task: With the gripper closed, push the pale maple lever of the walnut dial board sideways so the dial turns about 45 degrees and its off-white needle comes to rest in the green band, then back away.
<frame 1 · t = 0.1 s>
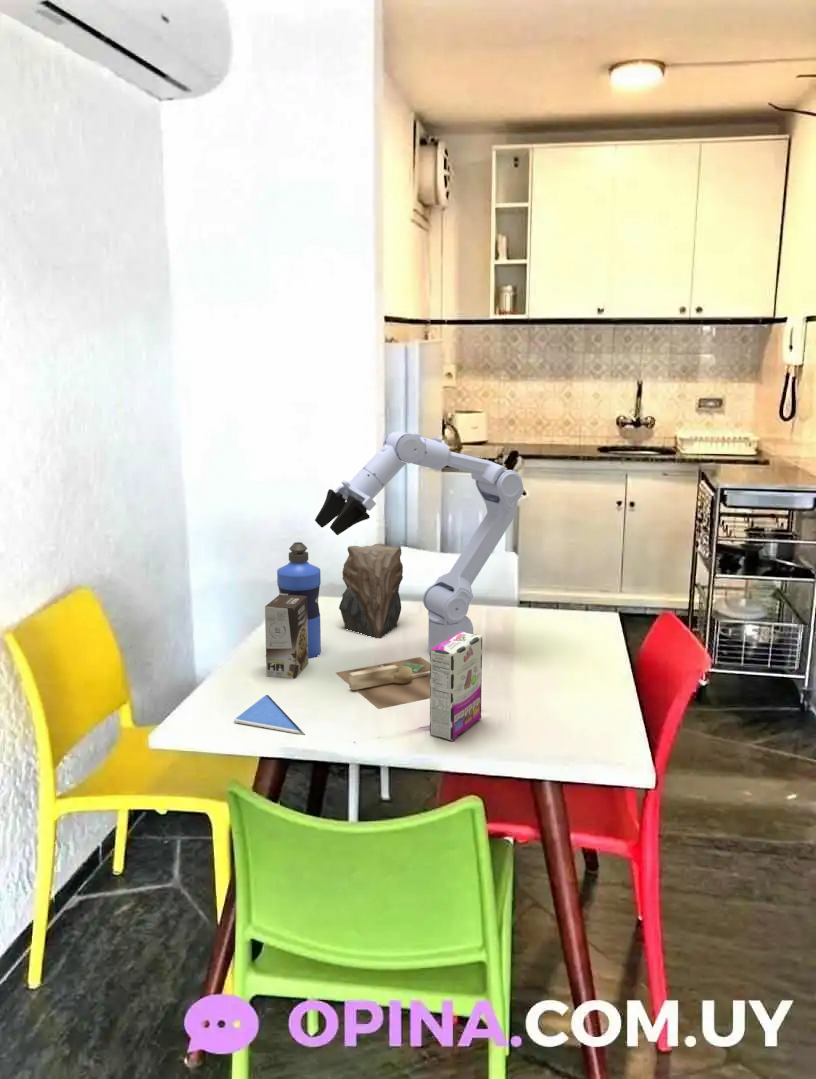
hand: (325, 527, 172), 32 cm above the table, tool tilted 50°, fingers open, 7 cm apart
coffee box: (288, 676, 182), on the table
candy bar box: (455, 728, 158), on the table
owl: (371, 630, 210), on the table
dial board: (401, 686, 176), on the table
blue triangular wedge: (295, 721, 162), on the table
water bottle: (300, 653, 194), on the table
dial lever: (396, 672, 175), point 3 cm above the table, hinge at 0.0°
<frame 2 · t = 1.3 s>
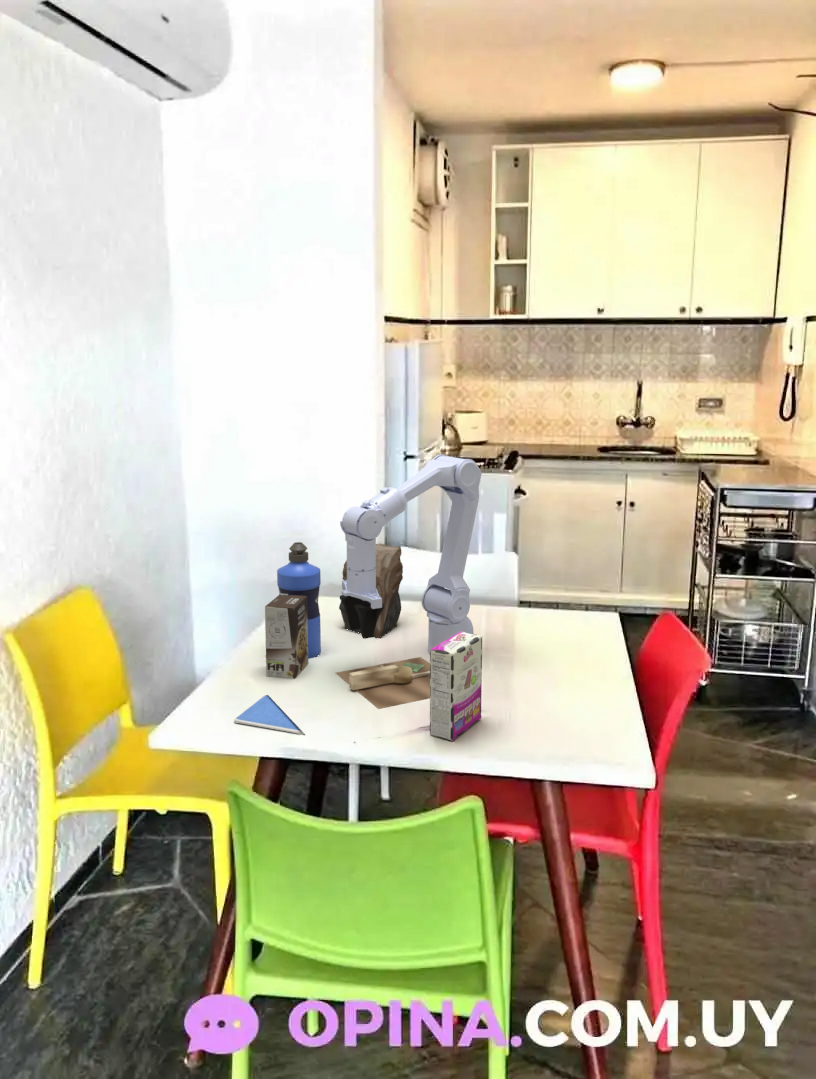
hand: (361, 633, 176), 10 cm above the table, tool pointing down, fingers open, 5 cm apart
nothing on the table moved.
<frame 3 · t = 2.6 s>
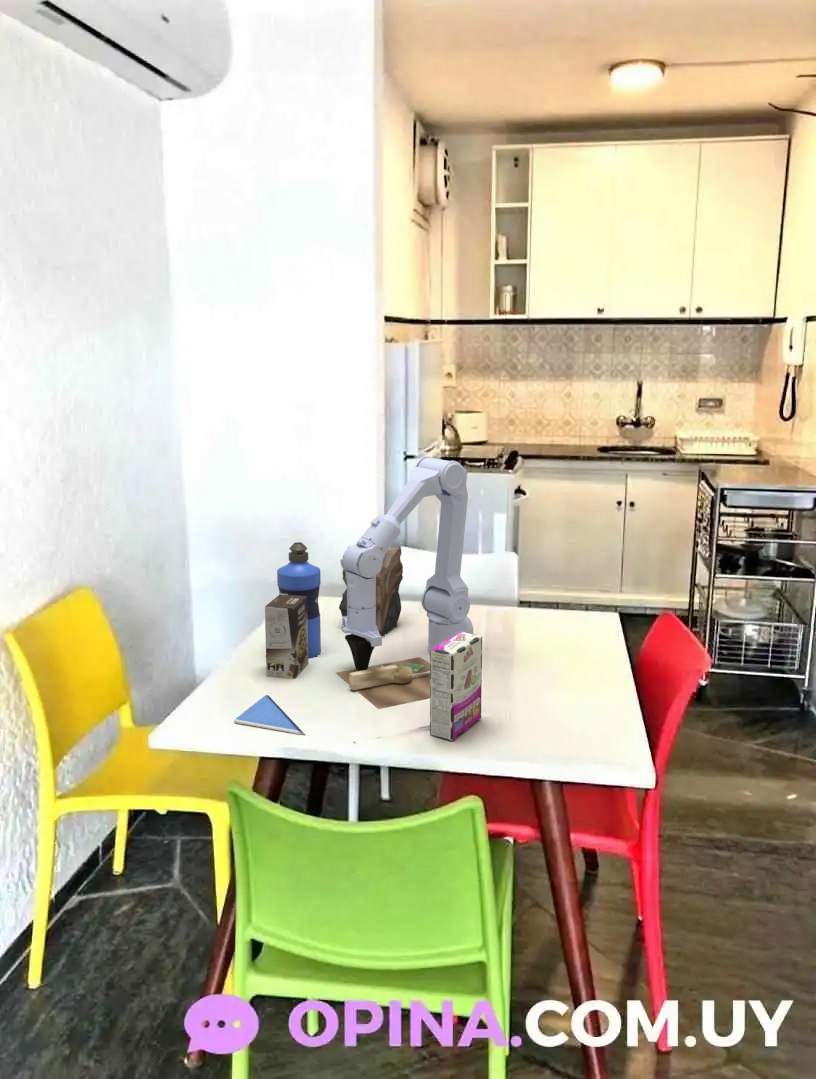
hand: (361, 669, 178), 3 cm above the table, tool pointing down, fingers closed
nothing on the table moved.
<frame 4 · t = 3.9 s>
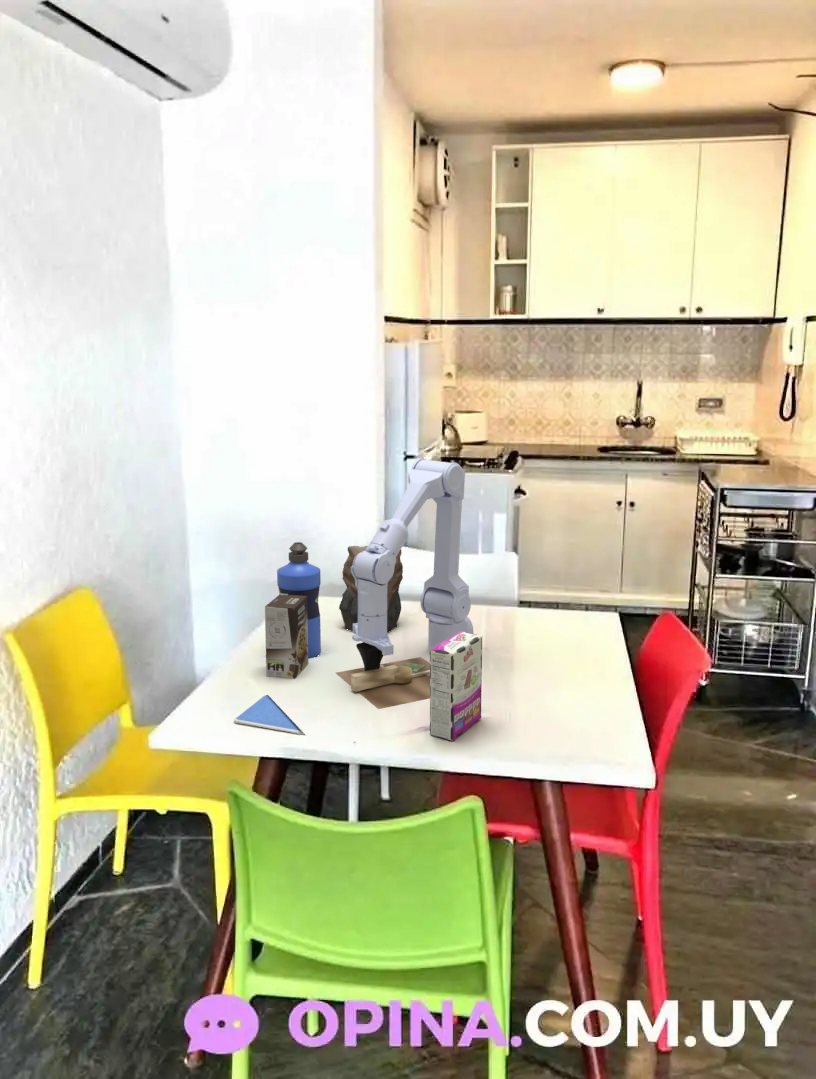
hand: (372, 678, 174), 3 cm above the table, tool pointing down, fingers closed, pressing on dial lever
dial lever: (396, 673, 175), point 3 cm above the table, hinge at 4.5°, touching gripper
everything else where it was.
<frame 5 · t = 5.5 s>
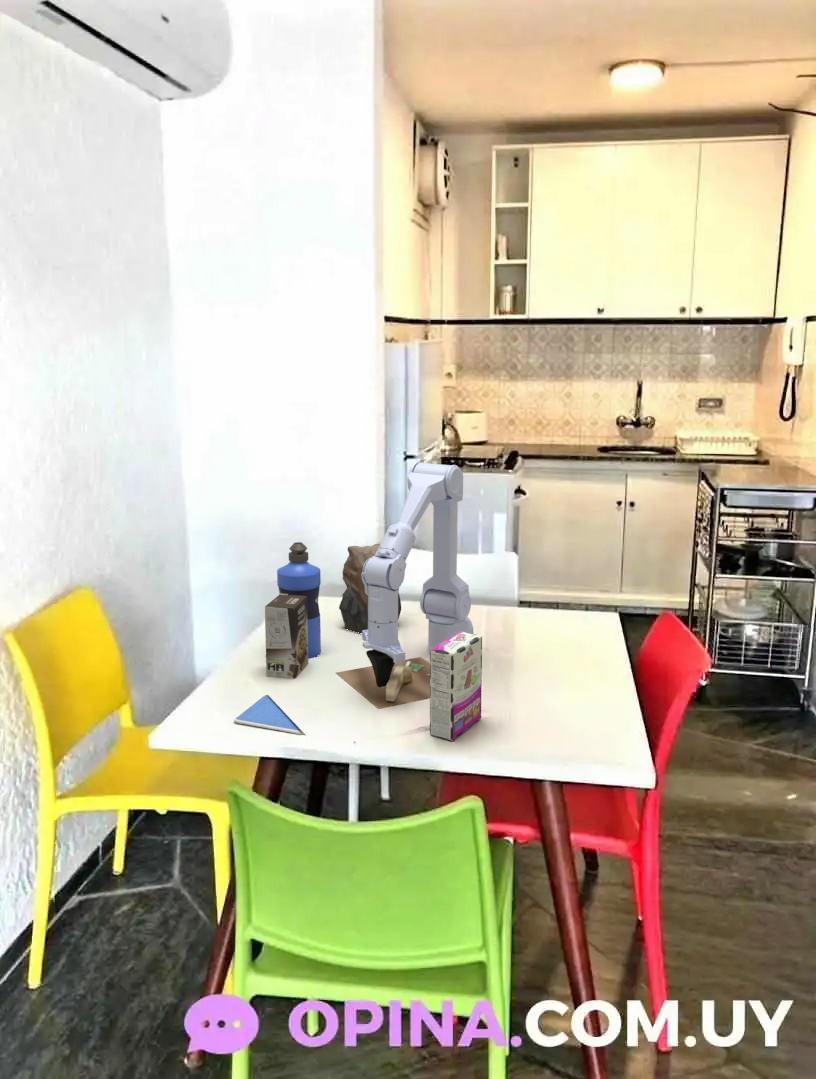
hand: (382, 685, 170), 3 cm above the table, tool pointing down, fingers closed
dial lever: (400, 673, 175), point 3 cm above the table, hinge at 51.5°, touching gripper
everything else where it was.
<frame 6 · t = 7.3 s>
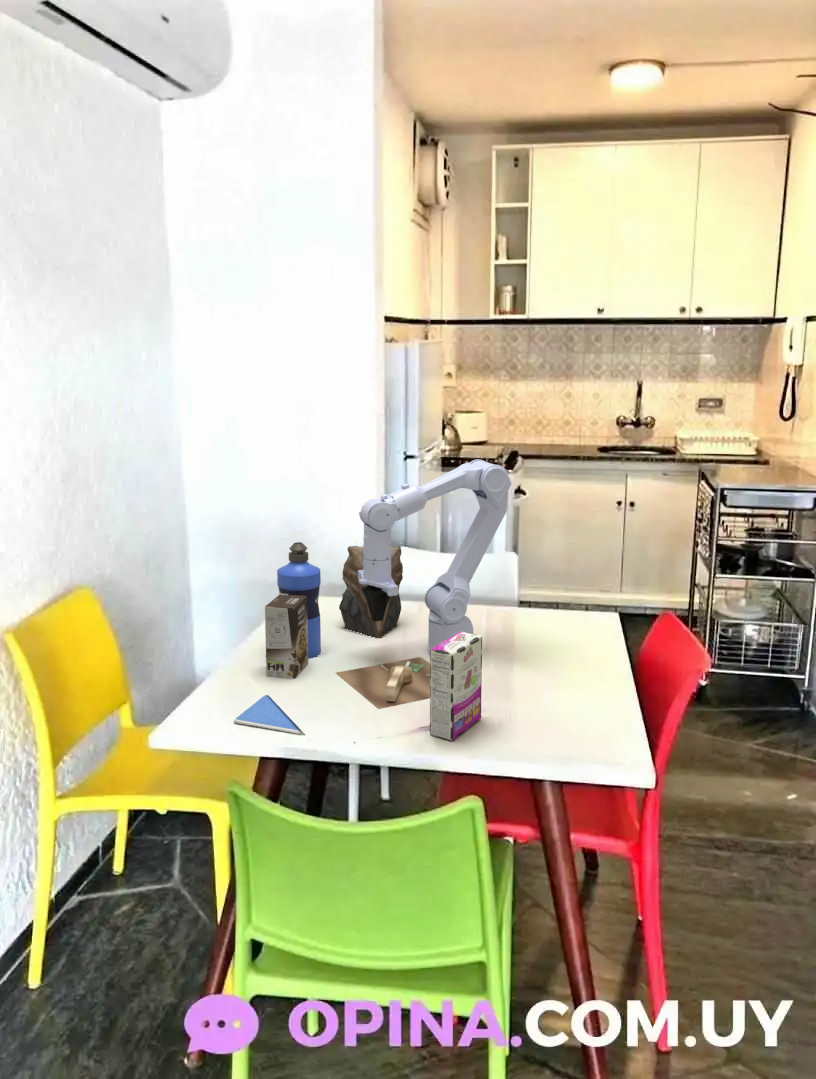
hand: (377, 620, 185), 10 cm above the table, tool pointing down, fingers closed
dial lever: (400, 673, 175), point 3 cm above the table, hinge at 51.9°
everything else where it was.
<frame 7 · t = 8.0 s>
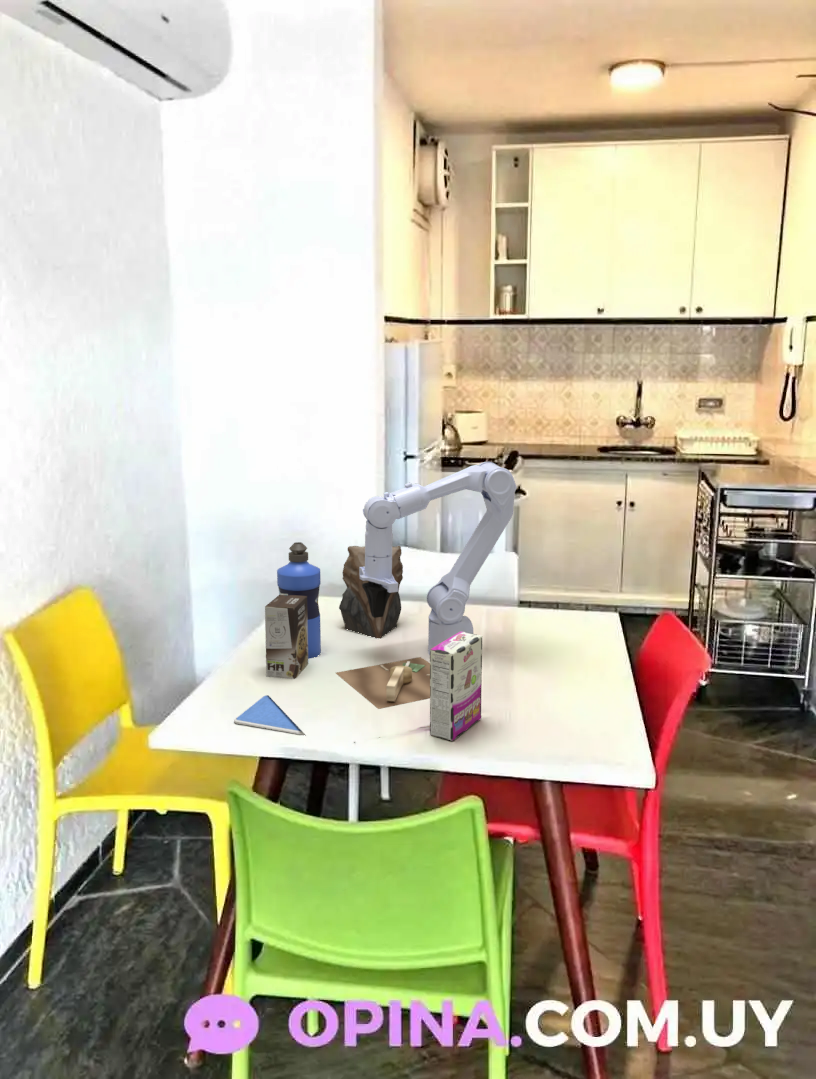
hand: (377, 616, 187), 10 cm above the table, tool pointing down, fingers closed
nothing on the table moved.
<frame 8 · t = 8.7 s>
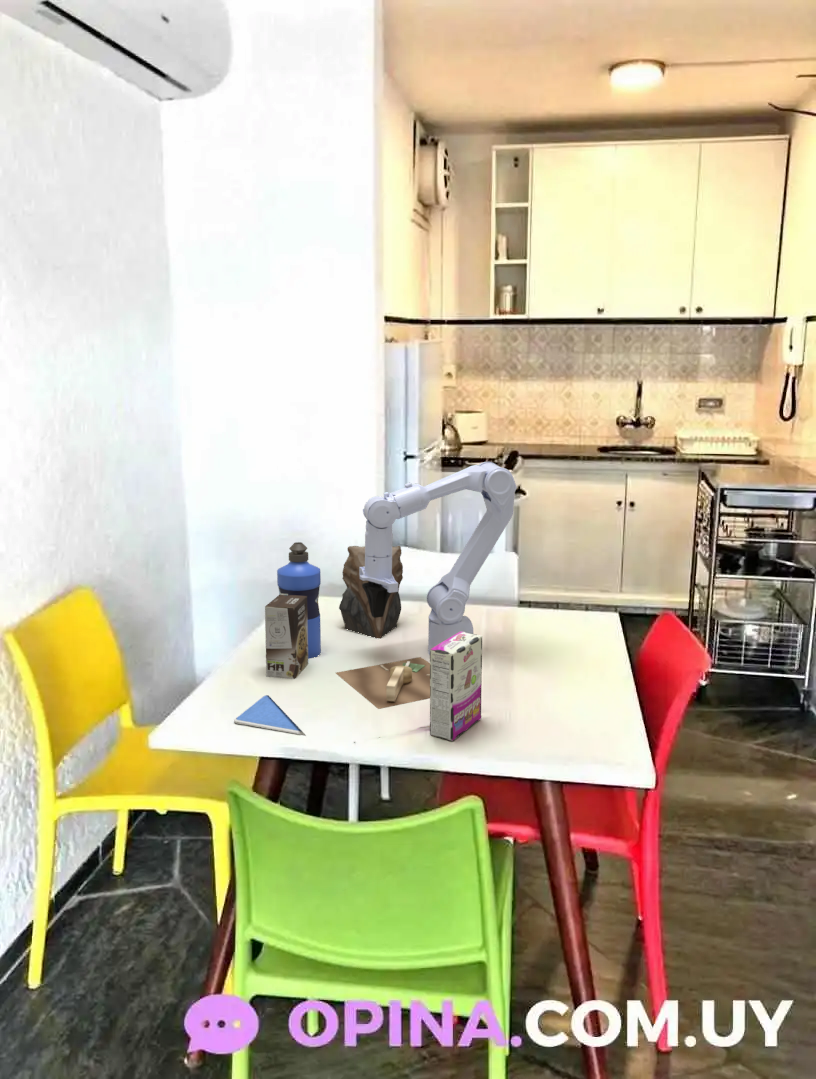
hand: (377, 616, 187), 10 cm above the table, tool pointing down, fingers closed
nothing on the table moved.
at the end: dial lever at +52° (first picture: +0°) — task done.
